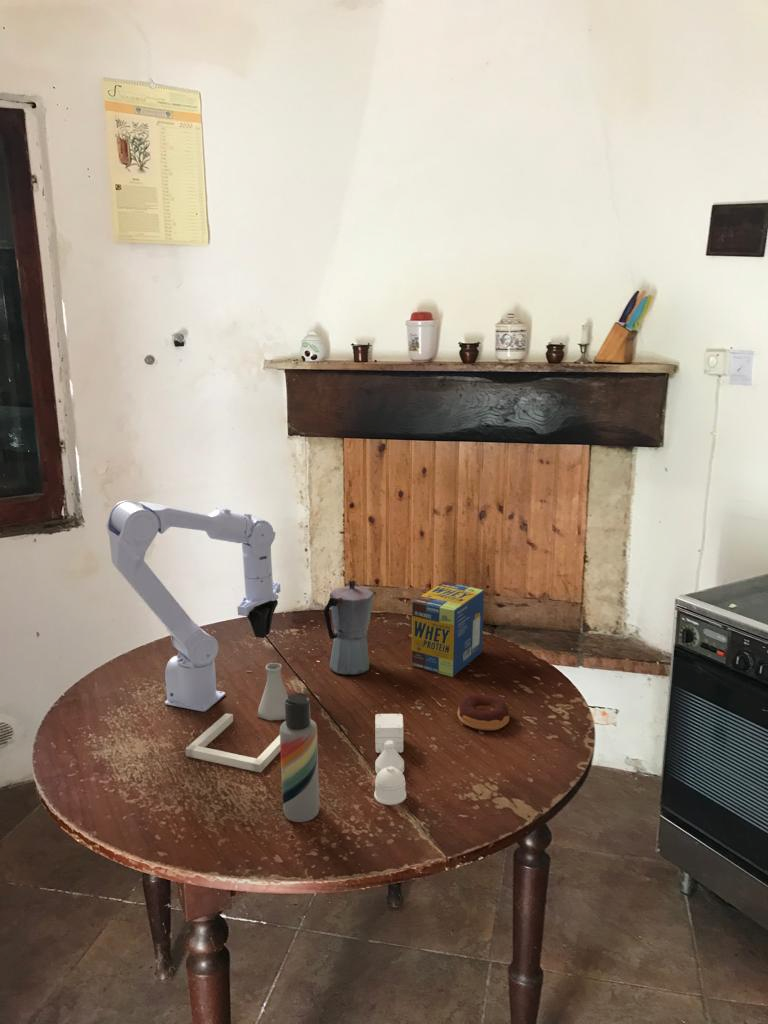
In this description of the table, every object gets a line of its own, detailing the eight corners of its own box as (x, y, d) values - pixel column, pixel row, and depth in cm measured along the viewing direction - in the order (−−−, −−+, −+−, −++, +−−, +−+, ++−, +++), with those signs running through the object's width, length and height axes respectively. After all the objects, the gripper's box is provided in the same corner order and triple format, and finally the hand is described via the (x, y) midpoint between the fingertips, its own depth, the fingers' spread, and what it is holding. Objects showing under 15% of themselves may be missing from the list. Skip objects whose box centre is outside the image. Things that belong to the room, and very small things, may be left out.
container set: (374, 740, 148) (374, 713, 146) (403, 740, 148) (403, 713, 146) (374, 806, 128) (373, 775, 127) (406, 806, 128) (406, 775, 127)
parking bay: (186, 756, 142) (185, 748, 142) (226, 720, 155) (225, 713, 154) (260, 772, 137) (260, 764, 137) (296, 734, 149) (295, 726, 149)
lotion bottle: (283, 802, 129) (279, 688, 124) (319, 800, 129) (316, 687, 124) (282, 824, 123) (277, 706, 118) (319, 822, 124) (316, 705, 119)
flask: (287, 723, 153) (285, 675, 151) (251, 720, 155) (249, 672, 152) (298, 705, 160) (297, 659, 158) (264, 702, 162) (262, 656, 159)
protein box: (410, 667, 177) (410, 601, 173) (443, 642, 190) (443, 580, 186) (453, 678, 172) (454, 610, 168) (483, 652, 184) (485, 588, 180)
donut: (519, 720, 154) (520, 701, 153) (489, 740, 147) (490, 720, 146) (477, 703, 161) (477, 685, 160) (446, 721, 154) (447, 702, 153)
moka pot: (386, 660, 180) (386, 576, 175) (347, 687, 167) (345, 597, 162) (351, 651, 185) (350, 569, 180) (310, 676, 172) (308, 589, 167)
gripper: (257, 588, 157) (262, 652, 160) (291, 565, 170) (294, 624, 173) (226, 584, 159) (231, 647, 163) (262, 561, 172) (266, 620, 176)
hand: (262, 635), depth 168 cm, fingers closed
